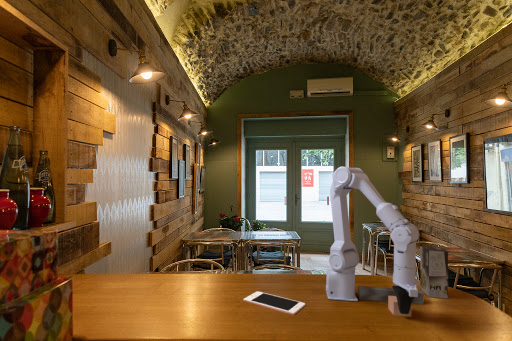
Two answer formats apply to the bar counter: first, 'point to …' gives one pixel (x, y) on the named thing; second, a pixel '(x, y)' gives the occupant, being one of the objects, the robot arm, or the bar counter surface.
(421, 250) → the coffee box
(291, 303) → the cell phone
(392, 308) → the block
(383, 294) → the gray rectangular bar
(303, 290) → the bar counter surface
